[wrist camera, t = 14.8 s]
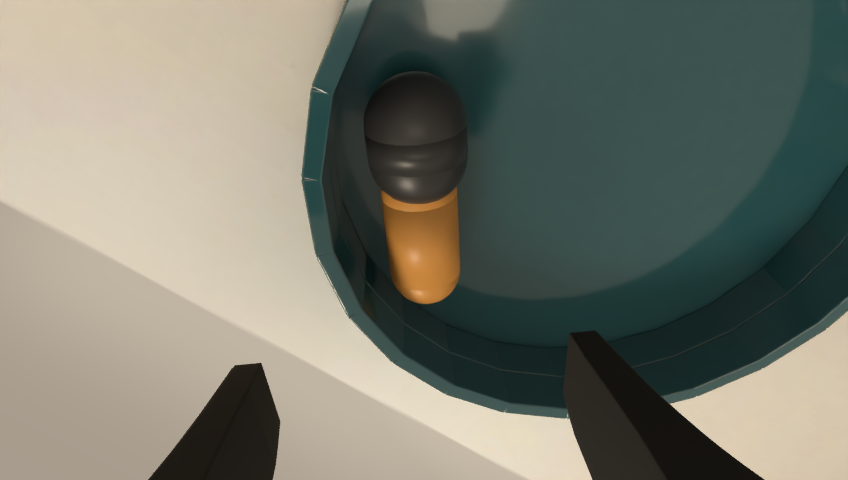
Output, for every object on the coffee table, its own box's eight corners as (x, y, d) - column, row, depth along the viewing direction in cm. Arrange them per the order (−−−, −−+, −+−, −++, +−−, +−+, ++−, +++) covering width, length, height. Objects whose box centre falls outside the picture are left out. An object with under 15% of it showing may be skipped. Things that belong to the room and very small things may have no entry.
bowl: (561, 407, 27) (586, 478, 24) (204, 172, 19) (166, 229, 16) (974, 119, 20) (1094, 164, 17) (680, -456, 12) (798, -598, 8)
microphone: (349, 67, 17) (367, 96, 14) (446, 53, 17) (481, 79, 15) (380, 285, 21) (398, 338, 19) (456, 268, 22) (484, 317, 19)
